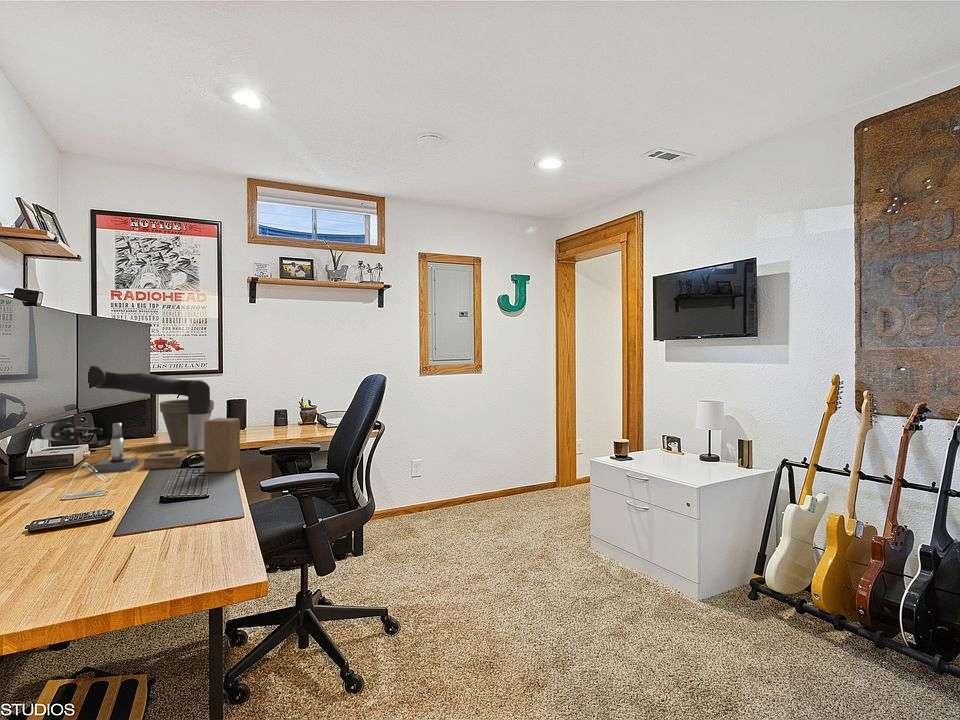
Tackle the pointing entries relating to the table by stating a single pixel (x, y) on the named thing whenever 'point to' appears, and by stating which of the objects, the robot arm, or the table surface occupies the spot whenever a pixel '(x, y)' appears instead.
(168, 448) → the table surface
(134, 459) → the grey socket
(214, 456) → the wooden block
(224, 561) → the table surface
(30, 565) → the table surface
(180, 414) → the plant pot
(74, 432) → the robot arm
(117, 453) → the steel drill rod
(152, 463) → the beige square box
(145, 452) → the table surface
